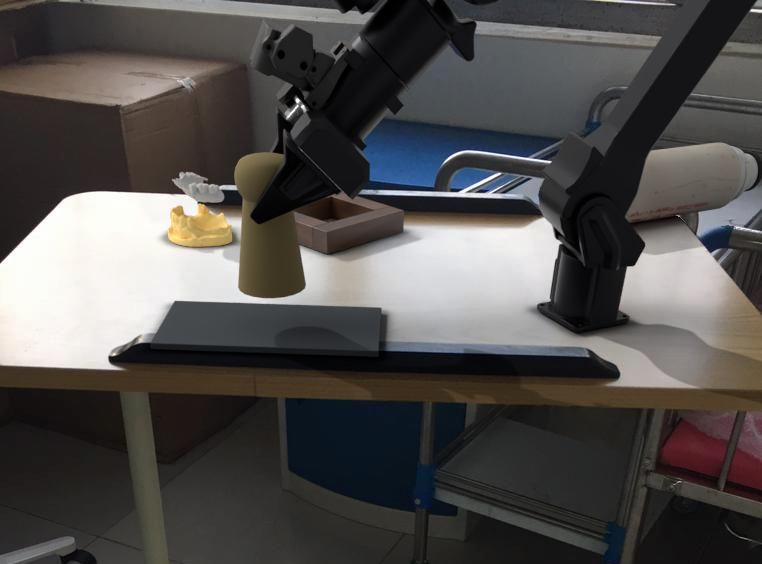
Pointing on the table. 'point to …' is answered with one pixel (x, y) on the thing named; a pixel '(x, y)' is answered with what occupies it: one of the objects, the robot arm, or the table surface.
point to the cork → (266, 236)
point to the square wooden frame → (345, 222)
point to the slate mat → (270, 328)
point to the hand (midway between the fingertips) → (252, 210)
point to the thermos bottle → (693, 180)
